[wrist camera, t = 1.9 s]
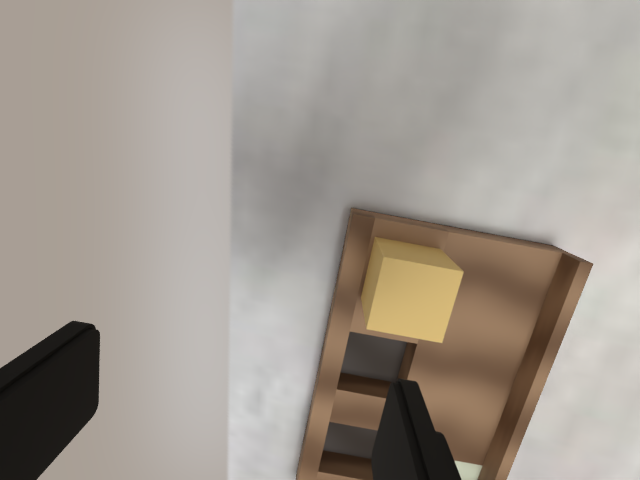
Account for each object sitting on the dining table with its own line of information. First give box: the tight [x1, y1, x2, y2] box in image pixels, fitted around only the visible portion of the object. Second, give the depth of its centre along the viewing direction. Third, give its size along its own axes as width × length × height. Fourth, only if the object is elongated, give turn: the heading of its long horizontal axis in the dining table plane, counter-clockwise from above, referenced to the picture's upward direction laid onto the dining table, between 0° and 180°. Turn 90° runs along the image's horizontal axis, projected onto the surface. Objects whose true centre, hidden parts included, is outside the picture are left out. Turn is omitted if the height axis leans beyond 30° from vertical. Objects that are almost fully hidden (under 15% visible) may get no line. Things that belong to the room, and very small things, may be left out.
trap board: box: [296, 208, 593, 480], centre depth 27 cm, size 25×15×4 cm, turn 170°
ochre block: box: [361, 237, 464, 343], centre depth 22 cm, size 4×4×4 cm
